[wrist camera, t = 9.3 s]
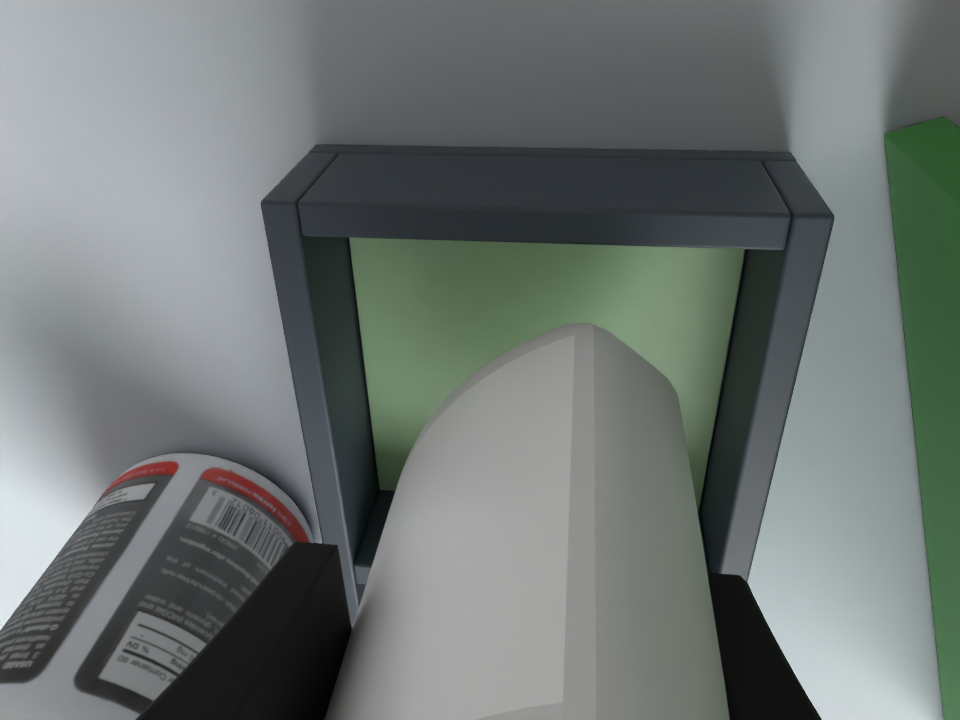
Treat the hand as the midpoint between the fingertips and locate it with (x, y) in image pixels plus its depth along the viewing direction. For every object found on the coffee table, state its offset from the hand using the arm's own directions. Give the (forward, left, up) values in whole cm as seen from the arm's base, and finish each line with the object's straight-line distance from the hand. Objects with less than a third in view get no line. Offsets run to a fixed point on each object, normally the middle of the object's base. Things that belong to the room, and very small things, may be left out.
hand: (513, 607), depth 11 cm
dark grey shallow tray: (0, +4, -7) cm, 8 cm away
